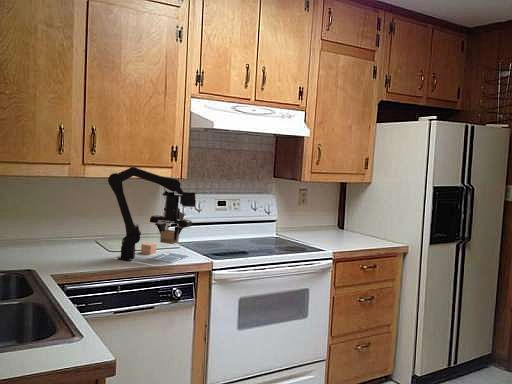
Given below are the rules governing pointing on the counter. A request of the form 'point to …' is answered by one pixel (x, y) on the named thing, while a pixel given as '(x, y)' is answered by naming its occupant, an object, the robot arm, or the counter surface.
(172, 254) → the board
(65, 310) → the counter surface
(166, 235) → the walnut block
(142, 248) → the terracotta cube
